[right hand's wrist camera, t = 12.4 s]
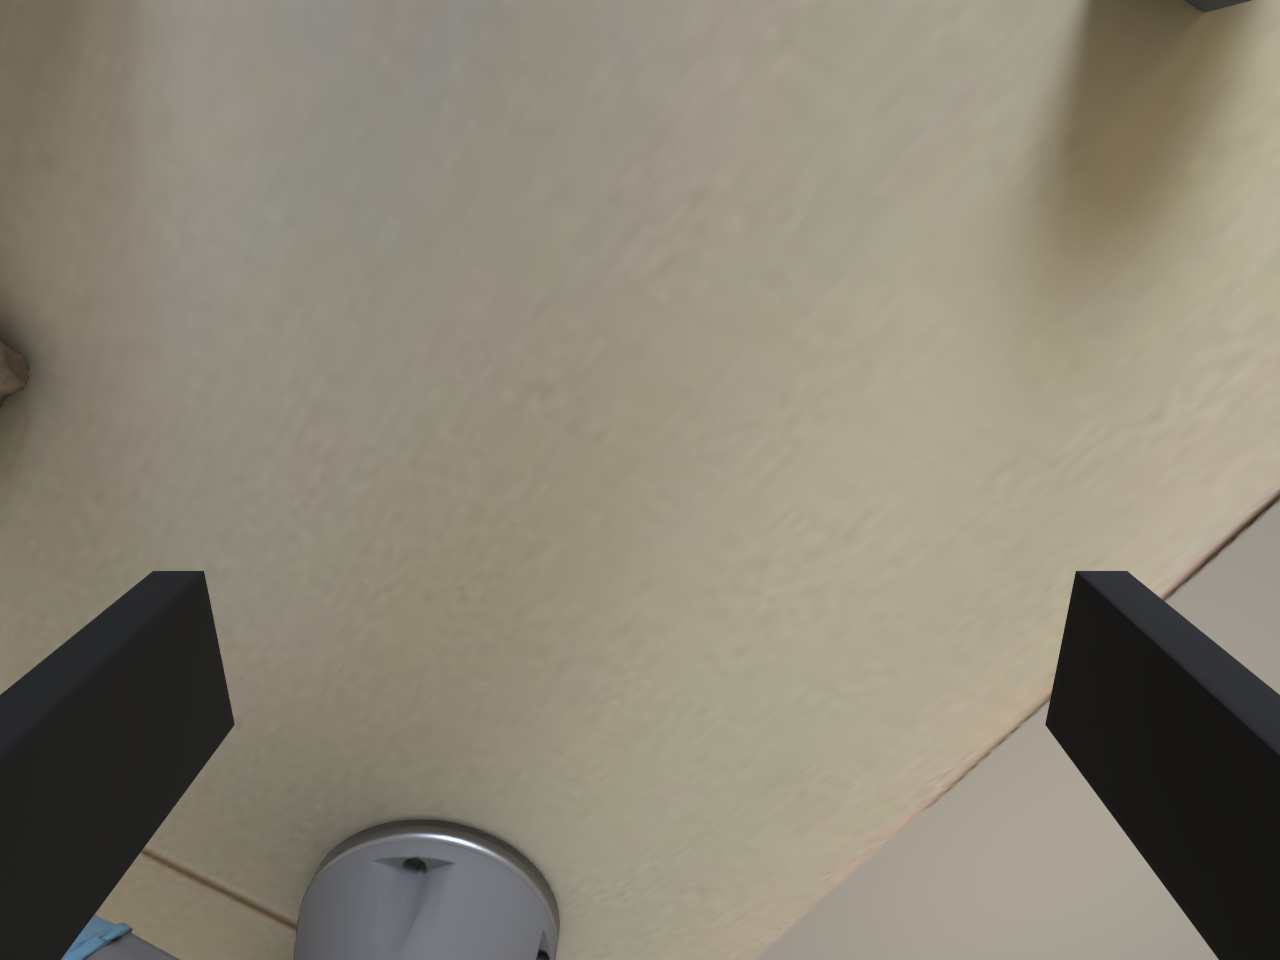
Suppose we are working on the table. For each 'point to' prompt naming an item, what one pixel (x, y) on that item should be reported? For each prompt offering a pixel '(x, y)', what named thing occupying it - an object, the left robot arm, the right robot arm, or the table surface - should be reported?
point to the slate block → (1213, 4)
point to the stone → (12, 371)
